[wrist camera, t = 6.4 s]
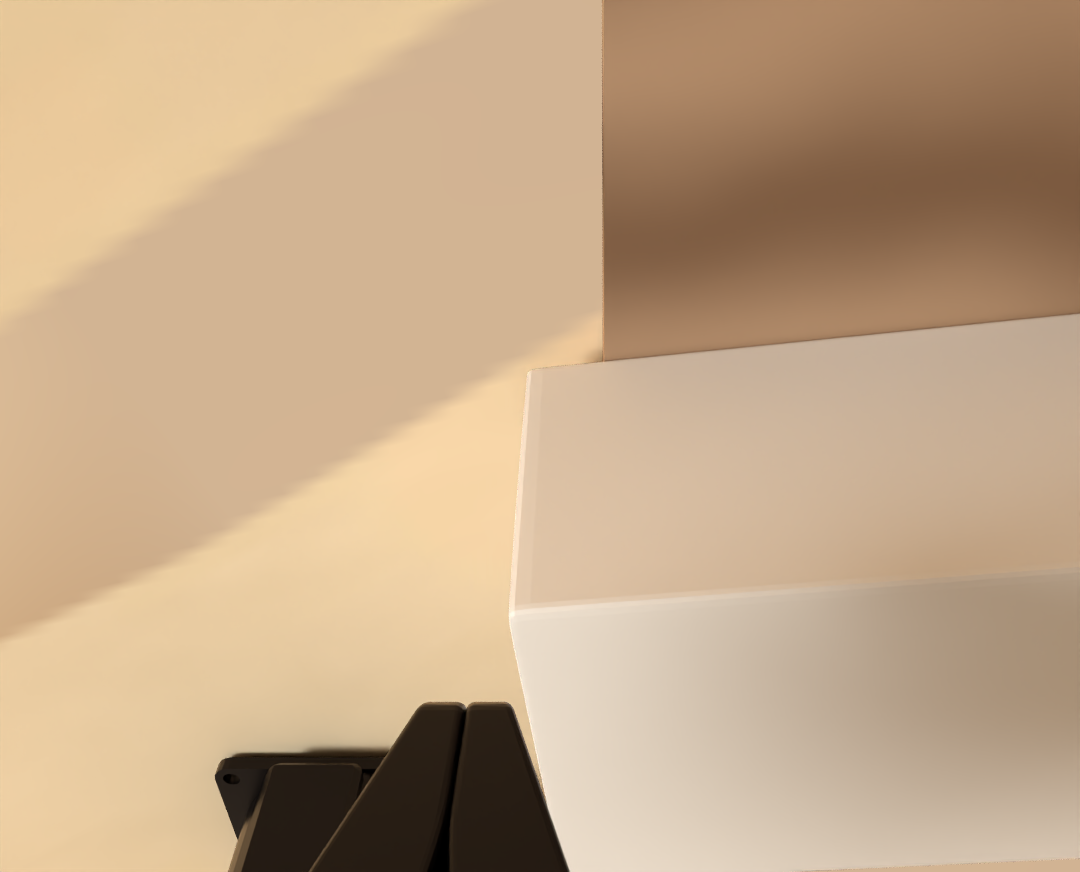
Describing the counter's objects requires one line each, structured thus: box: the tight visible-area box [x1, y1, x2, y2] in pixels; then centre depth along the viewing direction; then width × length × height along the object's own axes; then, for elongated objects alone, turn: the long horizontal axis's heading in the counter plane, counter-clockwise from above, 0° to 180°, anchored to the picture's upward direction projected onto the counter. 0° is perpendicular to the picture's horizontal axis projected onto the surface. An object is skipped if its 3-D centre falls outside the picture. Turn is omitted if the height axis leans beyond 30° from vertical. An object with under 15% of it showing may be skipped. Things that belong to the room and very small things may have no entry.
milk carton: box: [509, 313, 1080, 872], centre depth 18 cm, size 7×7×19 cm
